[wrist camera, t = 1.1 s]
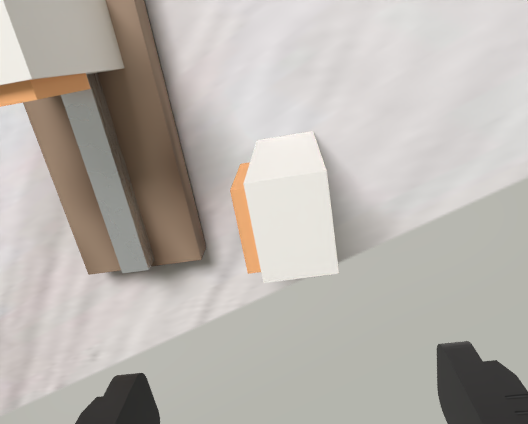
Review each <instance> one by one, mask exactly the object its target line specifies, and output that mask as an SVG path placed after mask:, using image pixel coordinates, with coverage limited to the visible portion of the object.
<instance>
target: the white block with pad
mask: <svg viewBox="0 0 528 424" xmlns="http://www.w3.org/2000/svg"><path fill="white" fill-rule="evenodd" d="M230 192H231V197H232V201H233V206H234V211H235V215H236V220H237V225H238V229H239V234H240V239H241V243H242V248H243V253H244V257H245V262H246V267H247V271H248V273H256V272H261V274H262V279H263V283H268V282H276V281H284V280H292V279H300V278H308V277H316V276H324V275H332V274H339V269H338V260H337V252H336V244H335V235H334V227H333V219H332V210H331V202H330V193H329V185H328V177H327V170H326V167H325V164H324V161H323V158H322V156H321V153H320V150H319V147H318V144H317V141H316V138H315V135H314V133H313V131H310V132H304V133H298V134H291V135H285V136H279V137H273V138H267V139H261V140H257V141H256V144H255V148H254V151H253V154H252V157H251V161H250V163H243V164H240V166H239V169H238V172H237V174H236V177H235V179H234V182H233V184H232V187H231V190H230Z"/></svg>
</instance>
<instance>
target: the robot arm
mask: <svg viewBox="0 0 528 424" xmlns="http://www.w3.org/2000/svg"><path fill="white" fill-rule="evenodd" d="M437 383H438V384H437V385H438V396H439V400H440V404H441V408H442V411H443V413H444V416H445V418H446V421H447V423H448V424H528V391H527V390H526V388H525V387H524V386H523V384H522V383H521V381H520V380H519V378H518V377H517V376H516V375H515V374H514V373H513V372H511V371H510V370H509V369H507V368H506V367H505V366H503V365H502V364H501V363H499V362H498V361H497V360H495V361H485V362H483V361H482V360H481V358H480V357H479V355H478V353H477V352H476V350H475V349H474V347H473V346H472V344H471V343H470V342H468V341H465V342H455V343H445V344H438V346H437ZM75 424H160V417H159V412H158V408H157V406H156V403H155V400H154V397H153V395H152V392H151V389H150V386H149V384H148V381H147V378H146V376H145V375H144V374H143V373H136V374H126V375H117V376H115V377H114V378H113V379H112V381H111V382H110V384H109V386H108V388H107V390H106V392H105V394H104V396H103V397H96V398H95V400H93V401H92V402H91V404H90V405H89V406H88V407H87V408H86V409H85V410H84V411H83V412H82V413H81V415H80V416H79V418H78V420H77V421H76V423H75Z"/></svg>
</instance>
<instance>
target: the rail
mask: <svg viewBox="0 0 528 424" xmlns="http://www.w3.org/2000/svg"><path fill="white" fill-rule="evenodd" d="M22 102H23V104H24V106H25V109H26V112H27V114H28V117H29V120H30V122H31V125H32V127H33V130H34V133H35V135H36V138H37V141H38V143H39V146H40V148H41V151H42V154H43V156H44V159H45V162H46V164H47V167H48V169H49V172H50V175H51V177H52V180H53V183H54V185H55V188H56V190H57V193H58V196H59V198H60V201H61V203H62V206H63V209H64V211H65V214H66V217H67V219H68V222H69V224H70V227H71V230H72V232H73V235H74V238H75V240H76V243H77V245H78V248H79V251H80V253H81V256H82V259H83V261H84V264H85V266H86V269H87V272H88V274H89V275H90V274H97V273H105V272H112V271H120V270H121V271H122V273H129V272H137V271H145V270H149V269H150V267H151V266H158V265H165V264H173V263H180V262H188V261H195V260H201V259H202V257H203V254H204V252H205V249H206V245H205V241H204V237H203V233H202V229H201V225H200V221H199V217H198V213H197V209H196V205H195V201H194V197H193V193H192V189H191V185H190V181H189V177H188V173H187V169H186V165H185V161H184V157H183V153H182V149H181V145H180V141H179V137H178V133H177V129H176V125H175V121H174V117H173V114H172V110H171V106H170V102H169V98H168V94H167V90H166V86H165V82H164V78H163V74H162V70H161V66H160V62H159V58H158V54H157V50H156V46H155V42H154V38H153V34H152V30H151V26H150V22H149V18H148V14H147V10H146V6H145V2H144V0H0V107H1V106H6V105H11V104H17V103H22Z"/></svg>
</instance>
